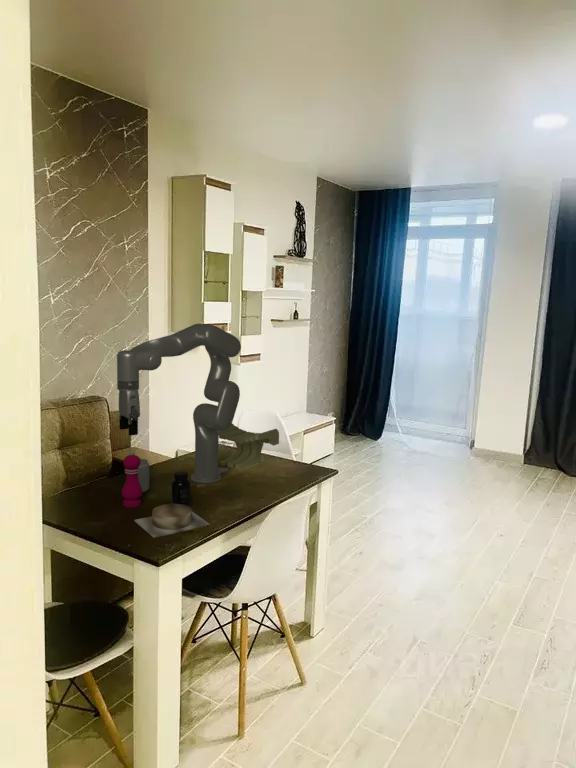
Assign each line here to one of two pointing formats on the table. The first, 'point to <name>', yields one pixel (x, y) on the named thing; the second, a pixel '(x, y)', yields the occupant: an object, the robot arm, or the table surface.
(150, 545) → the table surface
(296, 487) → the table surface
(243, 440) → the slatted curved stool
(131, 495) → the pepper mill
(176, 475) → the supplement bottle
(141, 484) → the can
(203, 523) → the pedestal
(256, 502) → the table surface
